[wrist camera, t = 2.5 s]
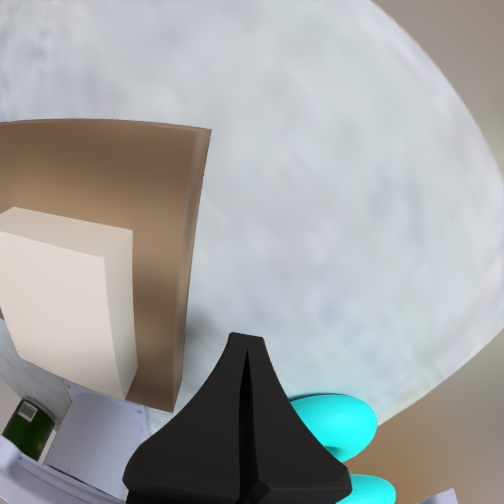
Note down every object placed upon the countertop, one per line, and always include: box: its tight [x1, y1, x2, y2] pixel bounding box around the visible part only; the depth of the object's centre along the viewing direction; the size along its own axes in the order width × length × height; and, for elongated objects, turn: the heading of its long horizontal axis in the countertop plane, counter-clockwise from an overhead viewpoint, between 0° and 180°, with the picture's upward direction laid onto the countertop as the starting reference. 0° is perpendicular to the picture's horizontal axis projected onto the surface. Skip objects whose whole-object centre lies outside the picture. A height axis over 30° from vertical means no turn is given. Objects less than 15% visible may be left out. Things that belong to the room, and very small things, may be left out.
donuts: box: [290, 395, 396, 504], centre depth 16 cm, size 10×10×10 cm
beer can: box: [2, 397, 55, 462], centre depth 19 cm, size 5×5×12 cm
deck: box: [0, 119, 212, 413], centre depth 13 cm, size 16×12×3 cm
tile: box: [0, 207, 138, 401], centre depth 11 cm, size 8×7×2 cm
